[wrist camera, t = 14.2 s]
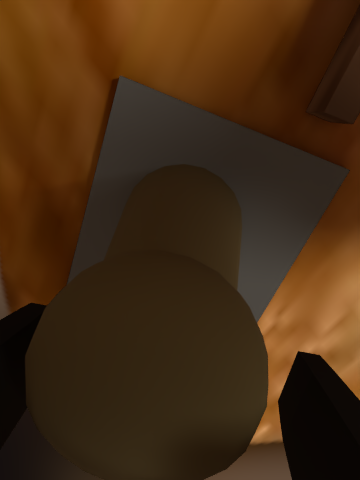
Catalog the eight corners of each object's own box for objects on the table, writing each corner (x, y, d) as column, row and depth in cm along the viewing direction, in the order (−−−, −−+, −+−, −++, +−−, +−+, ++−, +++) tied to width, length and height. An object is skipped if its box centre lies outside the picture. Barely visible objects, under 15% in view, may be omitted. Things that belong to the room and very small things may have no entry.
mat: (229, 360, 19) (230, 366, 19) (64, 301, 19) (61, 306, 18) (345, 168, 14) (349, 170, 14) (123, 76, 13) (119, 75, 13)
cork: (170, 136, 14) (66, 205, 4) (268, 216, 15) (397, 442, 5) (102, 231, 16) (-83, 440, 6) (191, 295, 17) (166, 565, 7)
